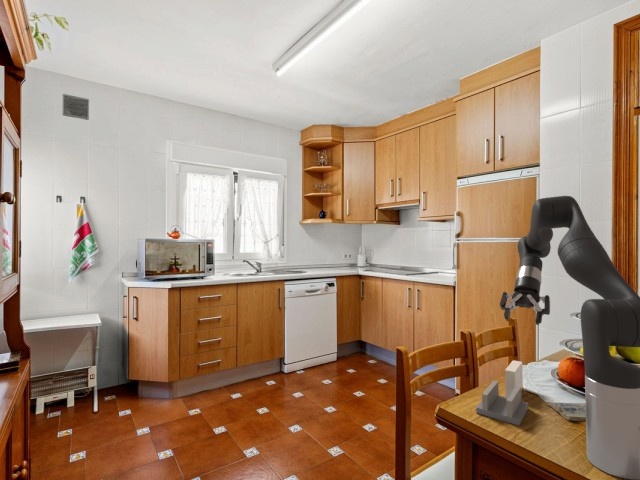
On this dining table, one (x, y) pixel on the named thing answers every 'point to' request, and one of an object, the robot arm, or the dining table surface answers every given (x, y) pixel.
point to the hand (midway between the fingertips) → (521, 321)
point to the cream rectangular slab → (513, 377)
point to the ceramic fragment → (570, 410)
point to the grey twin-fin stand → (502, 405)
